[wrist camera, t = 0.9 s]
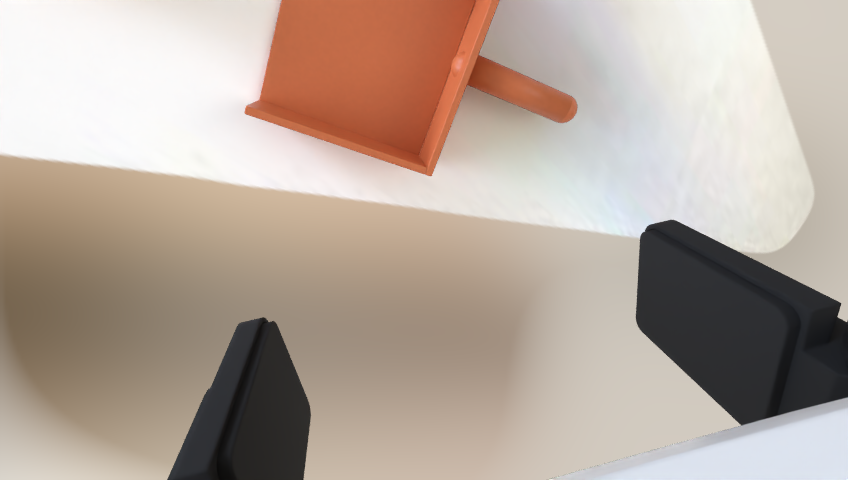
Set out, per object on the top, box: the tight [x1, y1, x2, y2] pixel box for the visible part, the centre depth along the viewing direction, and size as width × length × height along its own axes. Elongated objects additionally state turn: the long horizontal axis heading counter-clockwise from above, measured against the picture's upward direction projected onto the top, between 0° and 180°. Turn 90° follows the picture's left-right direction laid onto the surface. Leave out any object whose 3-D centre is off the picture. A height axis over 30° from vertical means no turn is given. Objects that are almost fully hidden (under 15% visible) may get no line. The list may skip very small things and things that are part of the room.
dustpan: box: [245, 0, 577, 176], centre depth 28 cm, size 22×15×4 cm
